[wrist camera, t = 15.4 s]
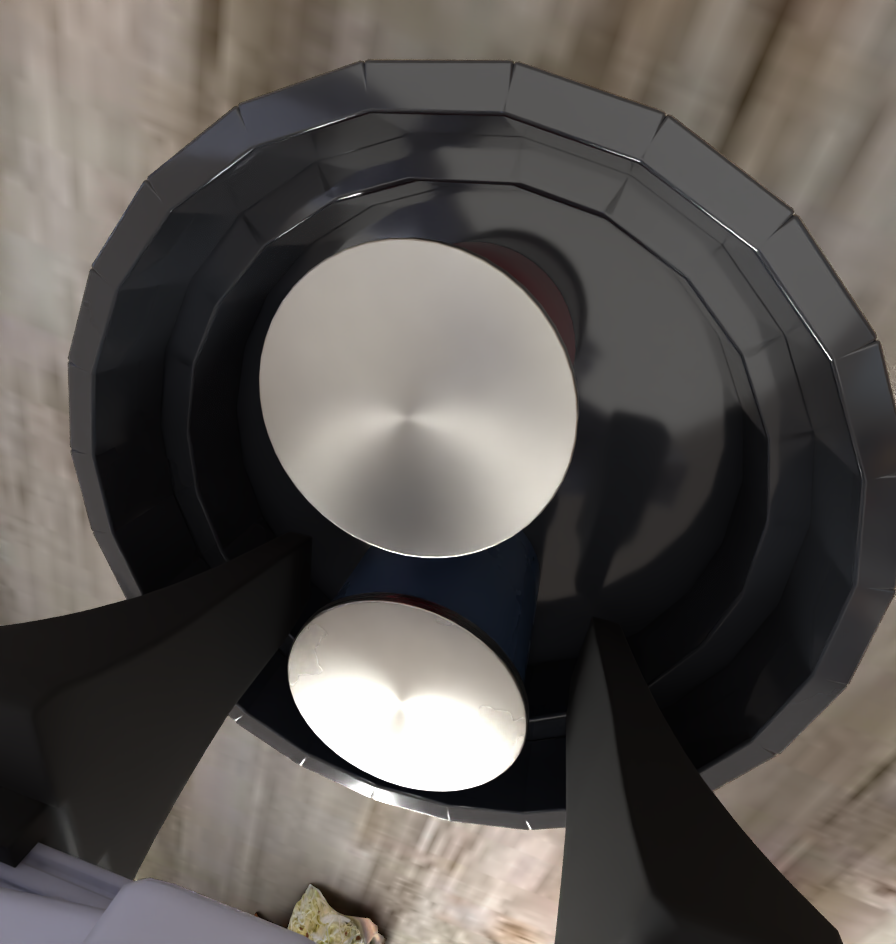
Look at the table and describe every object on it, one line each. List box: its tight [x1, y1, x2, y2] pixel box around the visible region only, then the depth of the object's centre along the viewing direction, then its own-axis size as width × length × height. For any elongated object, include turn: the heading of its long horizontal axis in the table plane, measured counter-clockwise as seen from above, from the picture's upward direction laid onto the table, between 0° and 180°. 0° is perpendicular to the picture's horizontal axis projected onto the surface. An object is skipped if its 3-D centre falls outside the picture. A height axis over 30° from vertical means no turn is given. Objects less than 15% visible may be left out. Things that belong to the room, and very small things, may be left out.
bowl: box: [68, 59, 896, 830], centre depth 12 cm, size 15×15×4 cm
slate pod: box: [287, 530, 540, 791], centre depth 13 cm, size 5×5×5 cm
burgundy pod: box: [259, 238, 579, 558], centre depth 10 cm, size 5×5×5 cm
